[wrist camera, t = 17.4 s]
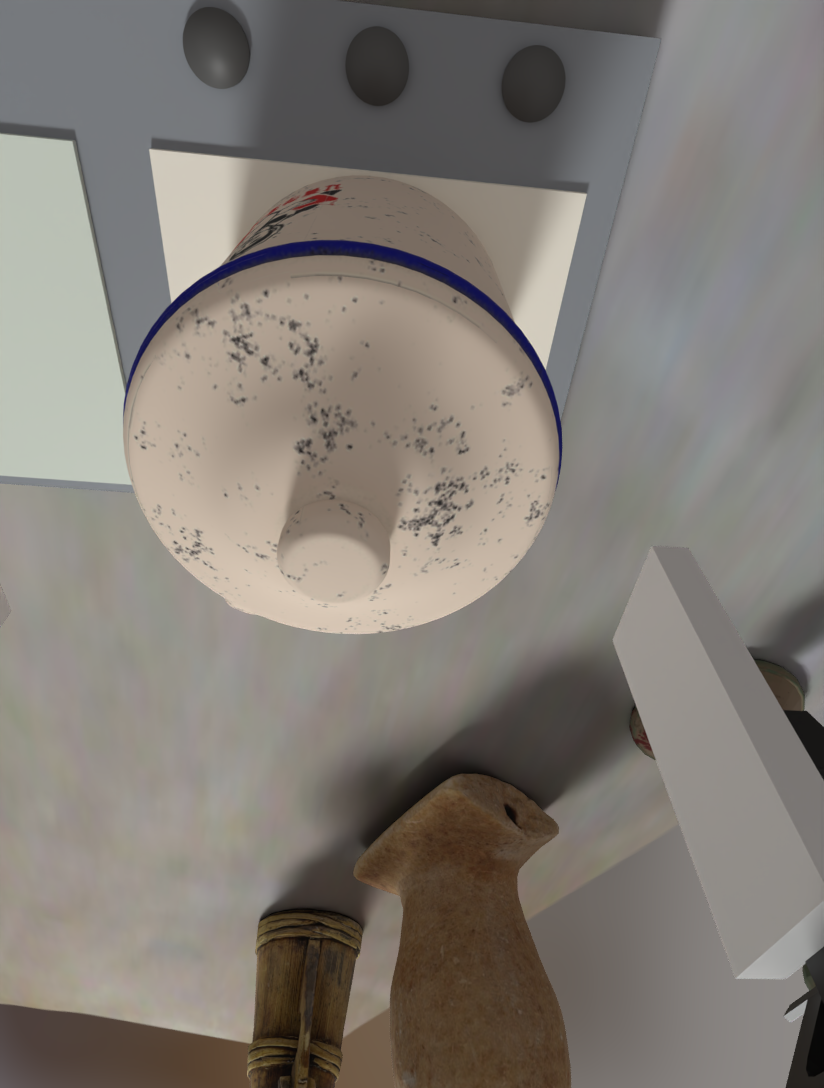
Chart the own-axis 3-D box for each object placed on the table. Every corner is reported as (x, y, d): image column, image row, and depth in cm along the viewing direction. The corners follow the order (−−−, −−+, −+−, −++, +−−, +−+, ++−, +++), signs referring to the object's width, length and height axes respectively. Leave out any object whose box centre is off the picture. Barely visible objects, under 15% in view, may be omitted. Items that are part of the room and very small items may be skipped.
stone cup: (472, 889, 49) (493, 1156, 37) (334, 853, 45) (308, 1138, 33) (603, 799, 41) (682, 1106, 29) (448, 746, 37) (466, 1075, 25)
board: (-188, 451, 24) (-215, 471, 23) (-505, -99, 15) (-578, -109, 14) (529, 503, 26) (534, 523, 25) (647, 38, 17) (664, 38, 16)
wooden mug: (388, 891, 49) (381, 1233, 35) (350, 953, 57) (331, 1252, 43) (273, 877, 47) (217, 1230, 33) (251, 944, 56) (198, 1250, 42)
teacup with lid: (297, 84, 16) (153, 148, 7) (571, 279, 19) (719, 499, 10) (153, 439, 22) (-21, 713, 13) (375, 543, 25) (357, 823, 16)
